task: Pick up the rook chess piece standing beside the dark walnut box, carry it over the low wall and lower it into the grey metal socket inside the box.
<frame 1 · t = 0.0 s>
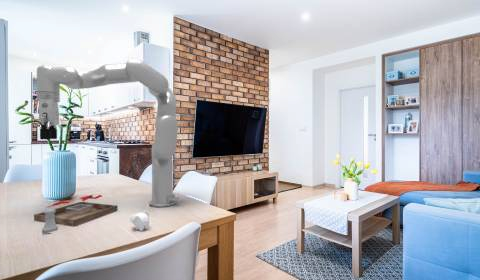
hand: (48, 139, 106), 31 cm above the table, tool pointing down, fingers open, 9 cm apart
metal socket: (79, 212, 107), resting on walnut box
walnut box: (78, 217, 103), on the table
rook chess piece: (50, 232, 87), on the table
cloth: (76, 203, 127), on the table
elephant figurine: (140, 229, 91), on the table
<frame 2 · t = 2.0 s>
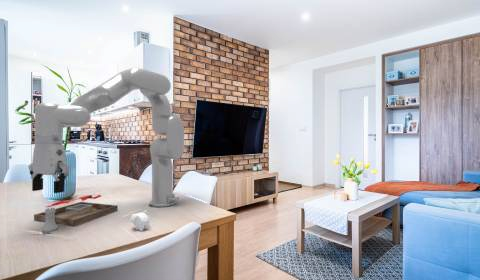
hand: (48, 191, 87), 14 cm above the table, tool pointing down, fingers open, 9 cm apart
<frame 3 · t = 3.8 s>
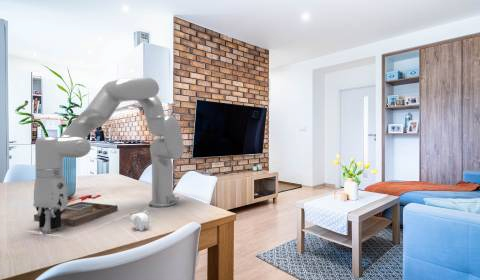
hand: (50, 226, 87), 2 cm above the table, tool pointing down, fingers closed on rook chess piece, 4 cm apart
rook chess piece: (50, 232, 87), on the table, touching gripper
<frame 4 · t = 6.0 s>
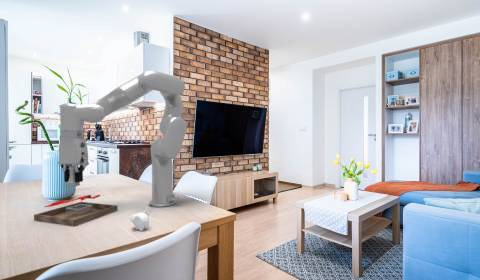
hand: (73, 181, 102), 15 cm above the table, tool pointing down, fingers closed on rook chess piece, 4 cm apart
rook chess piece: (73, 186, 102), point 13 cm above the table, touching gripper
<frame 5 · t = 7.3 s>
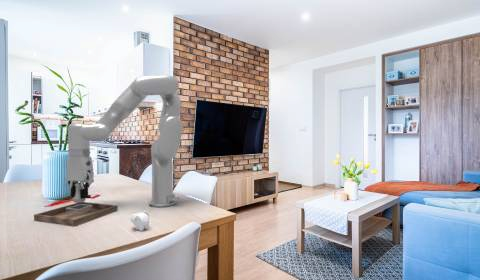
hand: (79, 197, 107), 7 cm above the table, tool pointing down, fingers closed on rook chess piece, 4 cm apart
rook chess piece: (79, 202, 107), point 5 cm above the table, touching gripper
when the fingers open (4 cm above the table, at t = 8.2 s): rook chess piece drops 2 cm, resting on walnut box.
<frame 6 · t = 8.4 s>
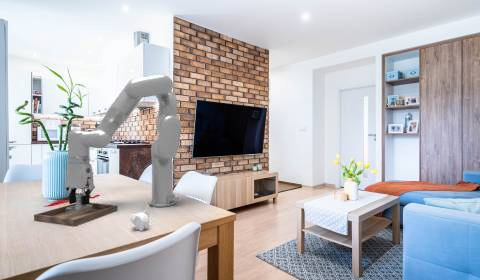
hand: (79, 203, 107), 5 cm above the table, tool pointing down, fingers open, 6 cm apart
rook chess piece: (79, 212, 107), point 1 cm above the table, touching walnut box
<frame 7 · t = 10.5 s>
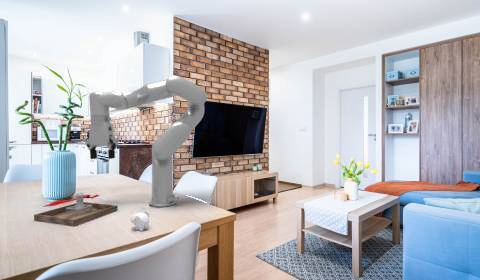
hand: (102, 158, 115), 22 cm above the table, tool pointing down, fingers open, 9 cm apart
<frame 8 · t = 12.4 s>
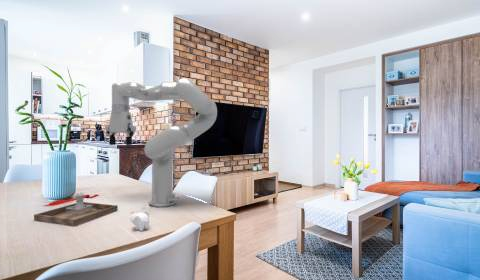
hand: (120, 144, 124), 28 cm above the table, tool pointing down, fingers open, 9 cm apart
at the end: rook chess piece 0.1 cm off-centre on the metal socket, point 0.0 cm above the metal socket's base; rook chess piece tilted 0°; the gripper is holding nothing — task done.
